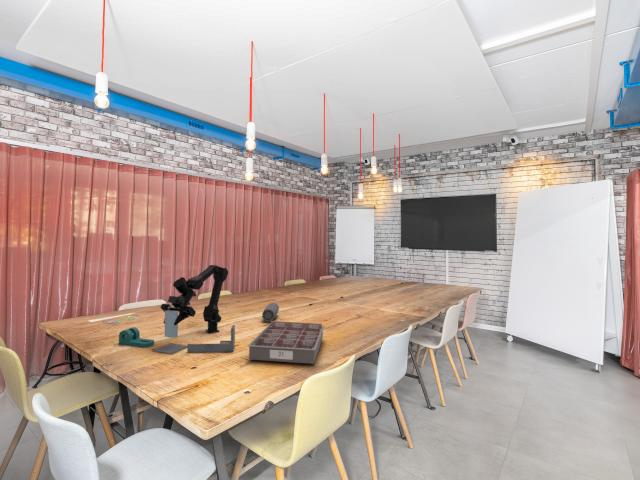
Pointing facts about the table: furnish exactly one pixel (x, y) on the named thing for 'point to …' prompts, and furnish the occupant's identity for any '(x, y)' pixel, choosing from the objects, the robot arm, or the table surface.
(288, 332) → the organizer tray
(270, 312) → the bluetooth speaker
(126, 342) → the bracket
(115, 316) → the printed paper
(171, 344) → the rubber mat
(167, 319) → the pale blue-grey block
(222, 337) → the table surface
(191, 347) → the board rack
